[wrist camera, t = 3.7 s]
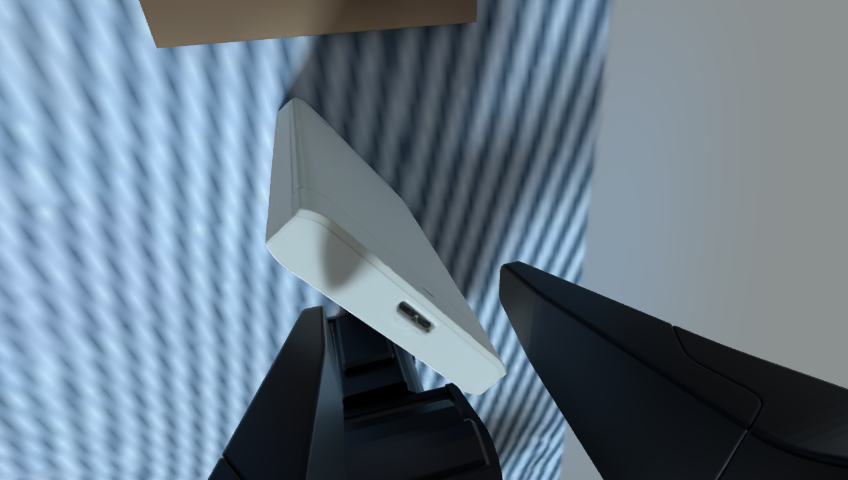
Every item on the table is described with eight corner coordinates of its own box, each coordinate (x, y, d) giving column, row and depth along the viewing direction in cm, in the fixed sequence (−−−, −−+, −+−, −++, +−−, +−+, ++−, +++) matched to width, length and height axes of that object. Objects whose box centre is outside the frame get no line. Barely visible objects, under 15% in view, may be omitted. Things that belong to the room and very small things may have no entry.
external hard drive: (298, 91, 18) (310, 199, 8) (410, 205, 22) (513, 370, 12) (272, 116, 18) (251, 254, 8) (389, 224, 23) (472, 402, 12)
